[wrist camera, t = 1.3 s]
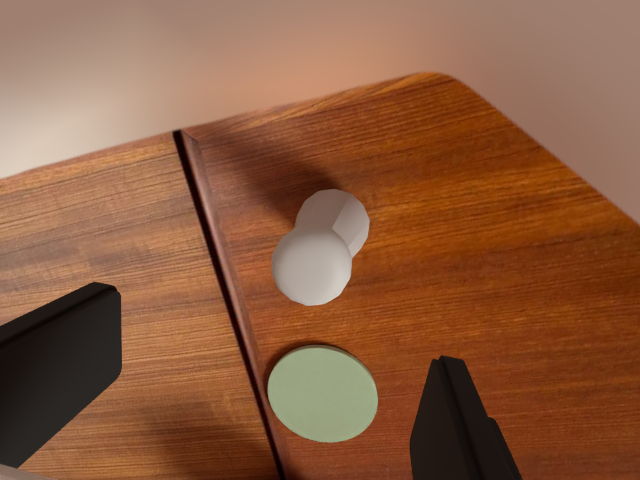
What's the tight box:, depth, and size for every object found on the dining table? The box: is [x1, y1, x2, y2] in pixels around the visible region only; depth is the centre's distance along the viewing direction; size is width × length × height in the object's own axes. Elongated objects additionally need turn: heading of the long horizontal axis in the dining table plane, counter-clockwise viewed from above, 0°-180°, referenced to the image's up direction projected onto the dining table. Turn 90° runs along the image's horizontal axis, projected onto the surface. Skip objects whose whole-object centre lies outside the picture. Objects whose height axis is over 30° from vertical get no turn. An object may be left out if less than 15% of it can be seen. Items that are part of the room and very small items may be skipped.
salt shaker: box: [272, 189, 370, 306], centre depth 23 cm, size 6×6×13 cm
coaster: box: [268, 345, 378, 442], centre depth 34 cm, size 11×11×1 cm
